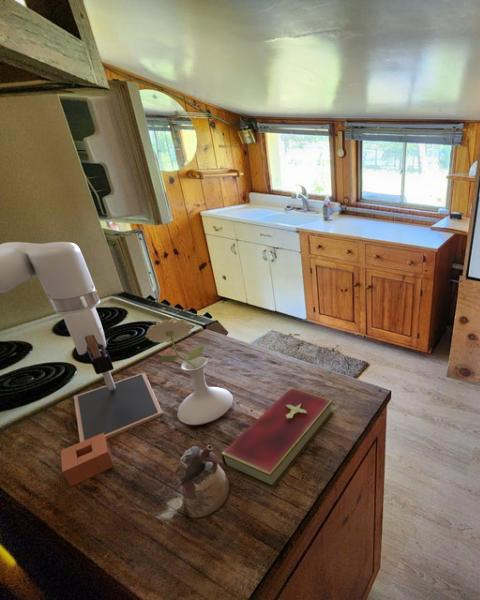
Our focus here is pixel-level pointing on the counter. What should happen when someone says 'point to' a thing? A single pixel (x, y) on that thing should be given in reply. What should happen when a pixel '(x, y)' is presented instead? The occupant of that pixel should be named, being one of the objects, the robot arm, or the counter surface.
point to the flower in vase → (192, 376)
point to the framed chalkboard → (116, 408)
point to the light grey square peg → (109, 380)
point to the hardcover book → (278, 437)
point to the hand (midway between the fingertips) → (104, 369)
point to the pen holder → (86, 459)
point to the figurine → (202, 481)
